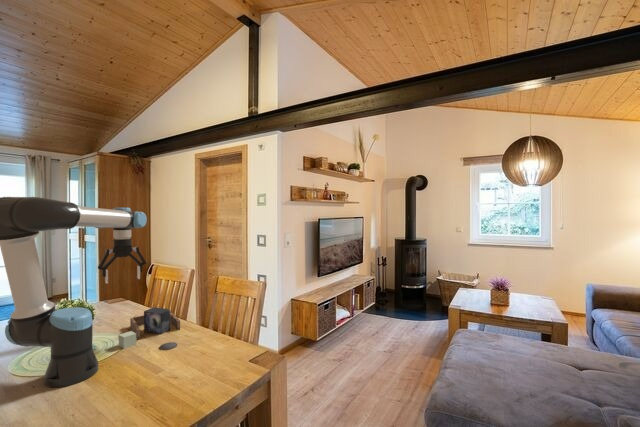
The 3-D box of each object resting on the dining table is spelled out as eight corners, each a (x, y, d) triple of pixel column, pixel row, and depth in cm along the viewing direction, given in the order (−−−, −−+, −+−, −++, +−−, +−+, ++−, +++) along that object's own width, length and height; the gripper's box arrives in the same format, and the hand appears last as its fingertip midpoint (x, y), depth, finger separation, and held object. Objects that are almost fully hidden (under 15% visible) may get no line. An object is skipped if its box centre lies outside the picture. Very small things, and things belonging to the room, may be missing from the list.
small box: (142, 332, 148) (142, 311, 147) (153, 327, 154) (153, 306, 154) (160, 335, 144) (160, 313, 144) (170, 329, 151) (170, 308, 151)
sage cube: (136, 344, 134) (136, 333, 134) (123, 349, 130) (123, 337, 130) (131, 341, 137) (131, 330, 137) (118, 346, 133) (118, 334, 133)
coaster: (179, 346, 132) (179, 346, 132) (161, 351, 127) (161, 350, 127) (174, 341, 137) (174, 340, 137) (157, 345, 133) (157, 345, 133)
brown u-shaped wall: (180, 329, 151) (180, 320, 151) (137, 339, 139) (137, 330, 139) (169, 318, 166) (169, 310, 166) (130, 326, 154) (130, 318, 154)
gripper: (148, 236, 162) (149, 275, 162) (90, 239, 145) (91, 283, 146) (152, 237, 156) (152, 278, 157) (92, 240, 140) (92, 286, 140)
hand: (123, 280), depth 151 cm, fingers open, 13 cm apart
